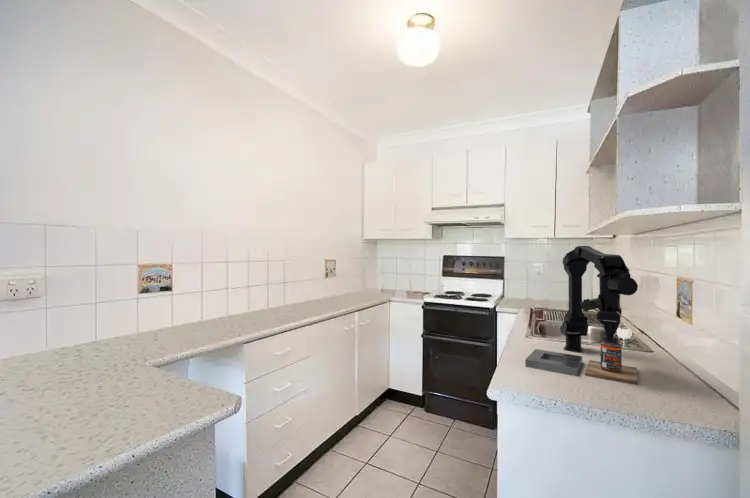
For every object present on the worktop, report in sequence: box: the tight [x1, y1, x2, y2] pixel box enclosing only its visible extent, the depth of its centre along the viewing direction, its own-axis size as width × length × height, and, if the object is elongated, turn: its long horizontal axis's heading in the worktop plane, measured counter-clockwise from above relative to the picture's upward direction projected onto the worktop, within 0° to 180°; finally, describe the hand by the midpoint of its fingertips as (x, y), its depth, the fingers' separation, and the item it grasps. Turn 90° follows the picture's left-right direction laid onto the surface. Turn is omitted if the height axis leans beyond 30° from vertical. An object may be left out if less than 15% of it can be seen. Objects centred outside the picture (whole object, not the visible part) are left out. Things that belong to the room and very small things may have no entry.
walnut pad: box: [584, 359, 639, 386], centre depth 116 cm, size 16×14×1 cm
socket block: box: [524, 348, 583, 376], centre depth 124 cm, size 16×16×2 cm
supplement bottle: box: [599, 334, 623, 372], centre depth 116 cm, size 6×6×11 cm
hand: (610, 337), depth 116 cm, fingers open, 9 cm apart
